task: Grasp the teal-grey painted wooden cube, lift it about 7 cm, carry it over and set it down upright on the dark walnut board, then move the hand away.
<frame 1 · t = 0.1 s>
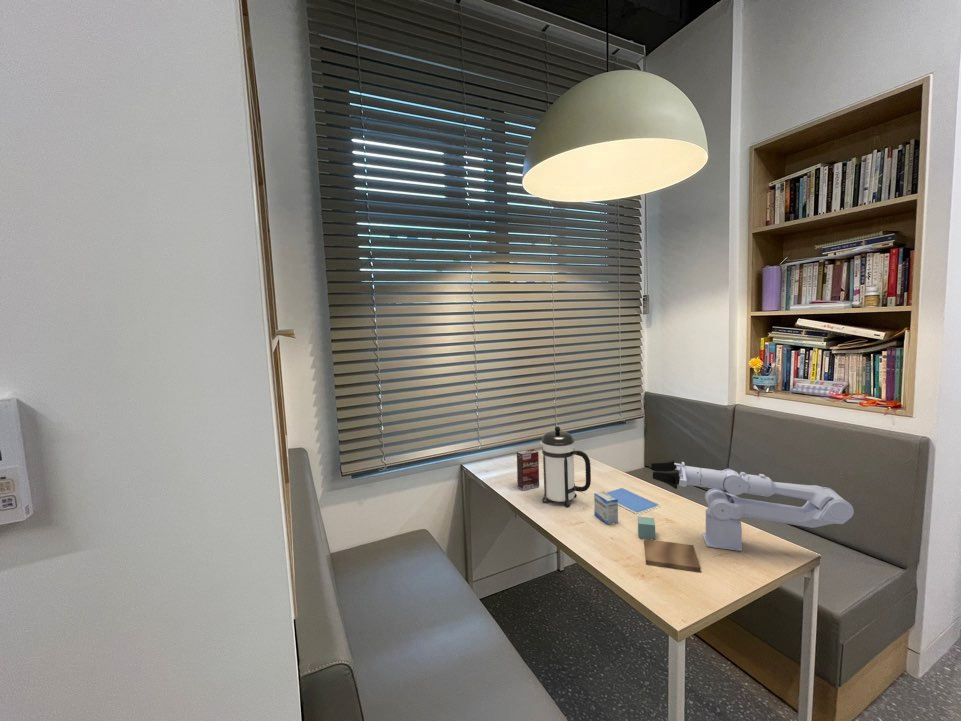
hand: (651, 470, 130), 22 cm above the table, tool horizontal, fingers open, 7 cm apart
walnut board: (670, 556, 119), on the table
medicine box: (606, 519, 144), on the table
coffee press: (562, 500, 161), on the table
supplement box: (528, 487, 174), on the table
tablet computer: (629, 503, 157), on the table
teal cube: (646, 535, 132), on the table
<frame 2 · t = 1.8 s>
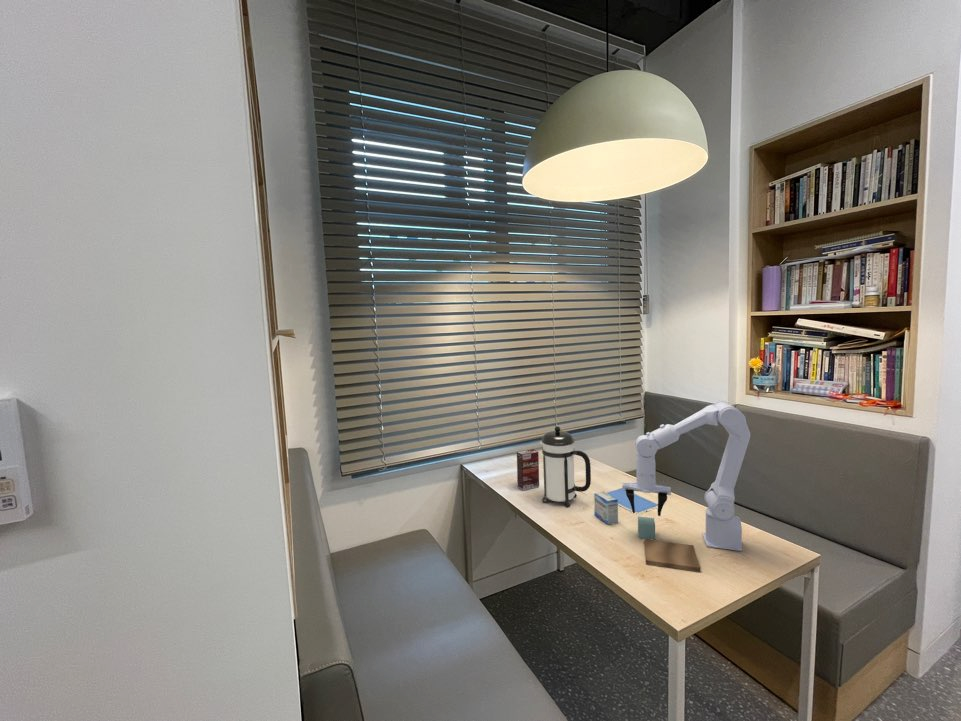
hand: (646, 513, 131), 7 cm above the table, tool pointing down, fingers open, 7 cm apart
nothing on the table moved.
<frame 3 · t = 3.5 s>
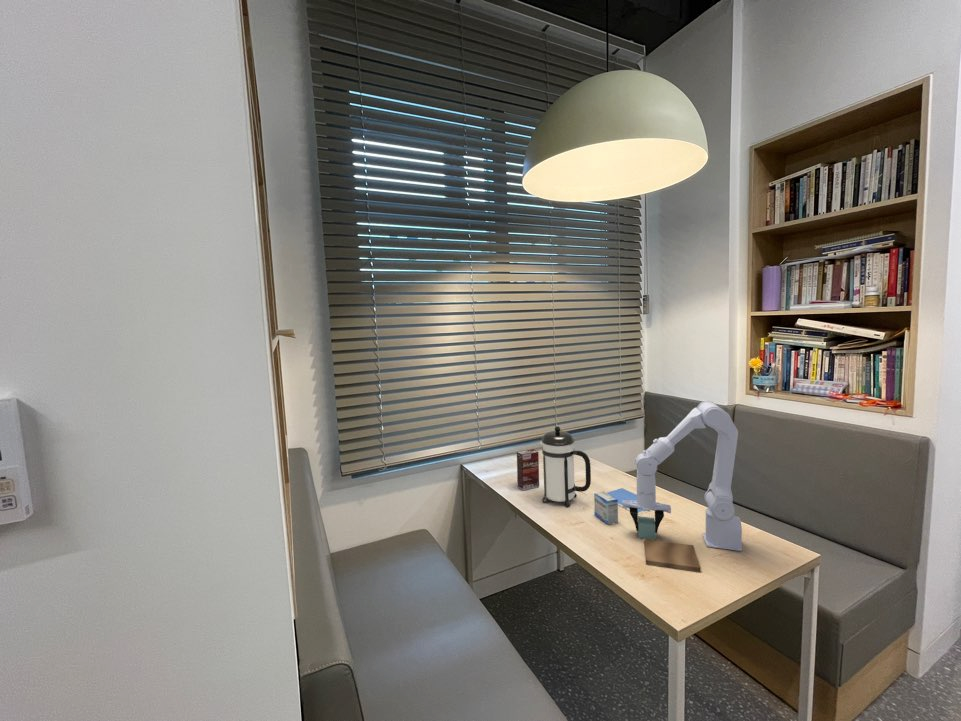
hand: (646, 530, 132), 1 cm above the table, tool pointing down, fingers closed on teal cube, 5 cm apart
teal cube: (646, 535, 132), on the table, touching gripper
everything else where it was.
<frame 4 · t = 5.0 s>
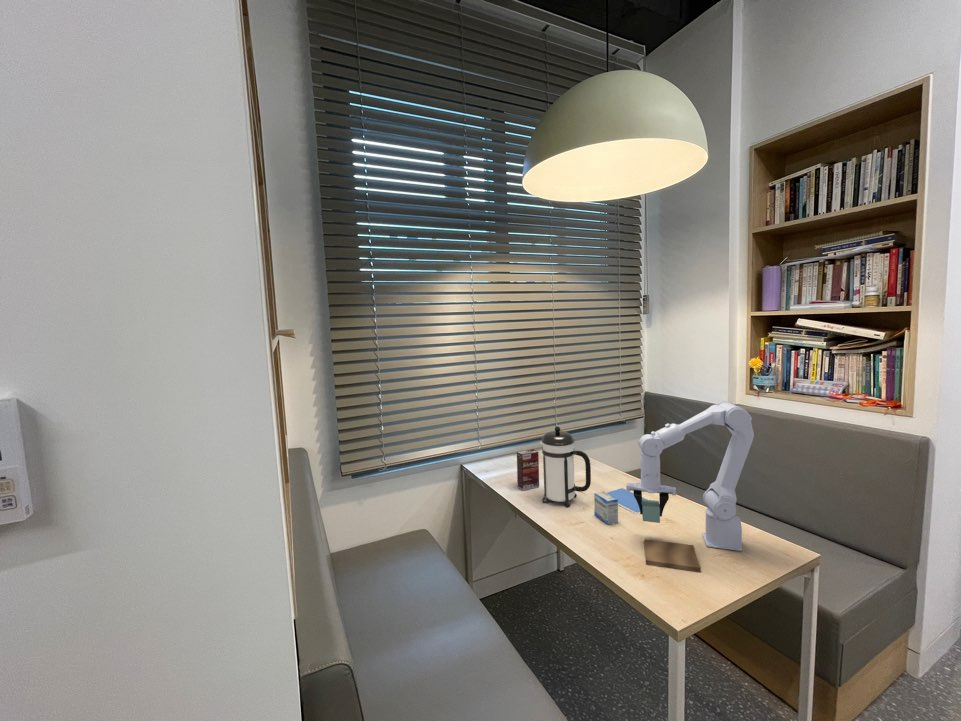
hand: (650, 514, 129), 8 cm above the table, tool pointing down, fingers closed on teal cube, 5 cm apart
teal cube: (650, 518, 129), point 7 cm above the table, touching gripper
everything else where it was.
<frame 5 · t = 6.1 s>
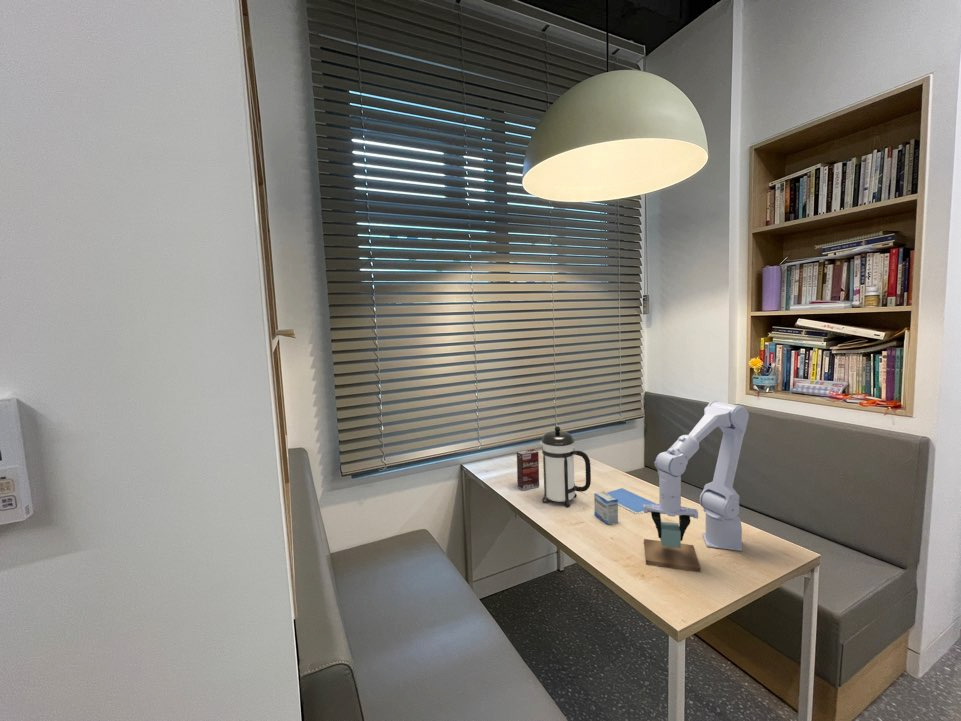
hand: (670, 537, 119), 6 cm above the table, tool pointing down, fingers closed on teal cube, 5 cm apart
teal cube: (670, 542, 119), point 4 cm above the table, touching gripper
everything else where it was.
when the fingers open (4 cm above the table, at t = 6.9 s): teal cube drops 1 cm, resting on walnut board.
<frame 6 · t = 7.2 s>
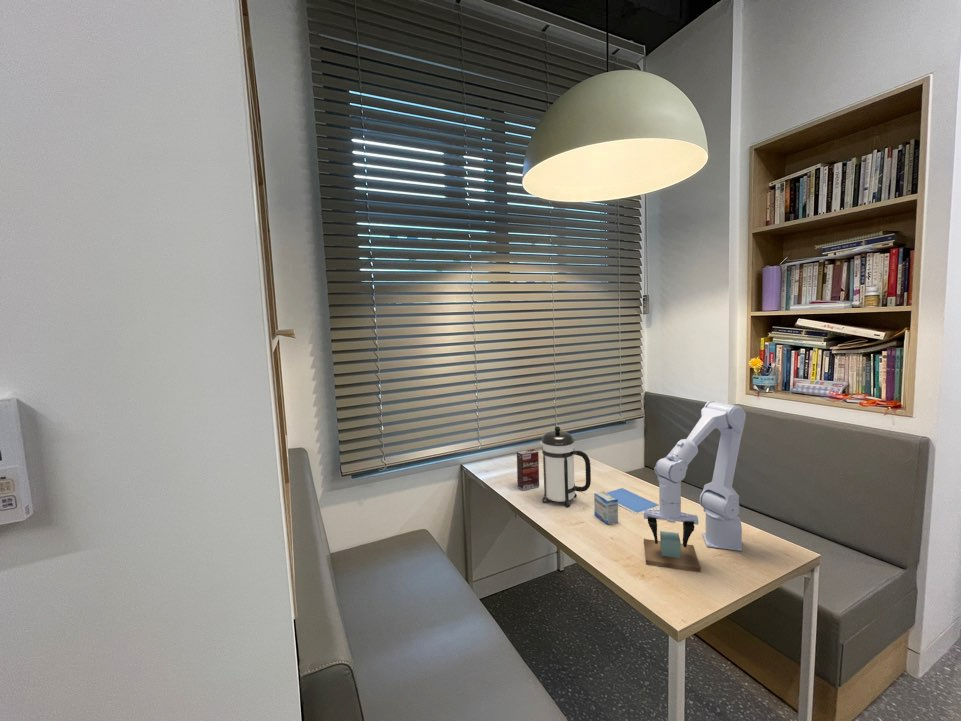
hand: (670, 543, 119), 4 cm above the table, tool pointing down, fingers open, 7 cm apart
teal cube: (670, 552, 119), point 1 cm above the table, touching walnut board
everything else where it was.
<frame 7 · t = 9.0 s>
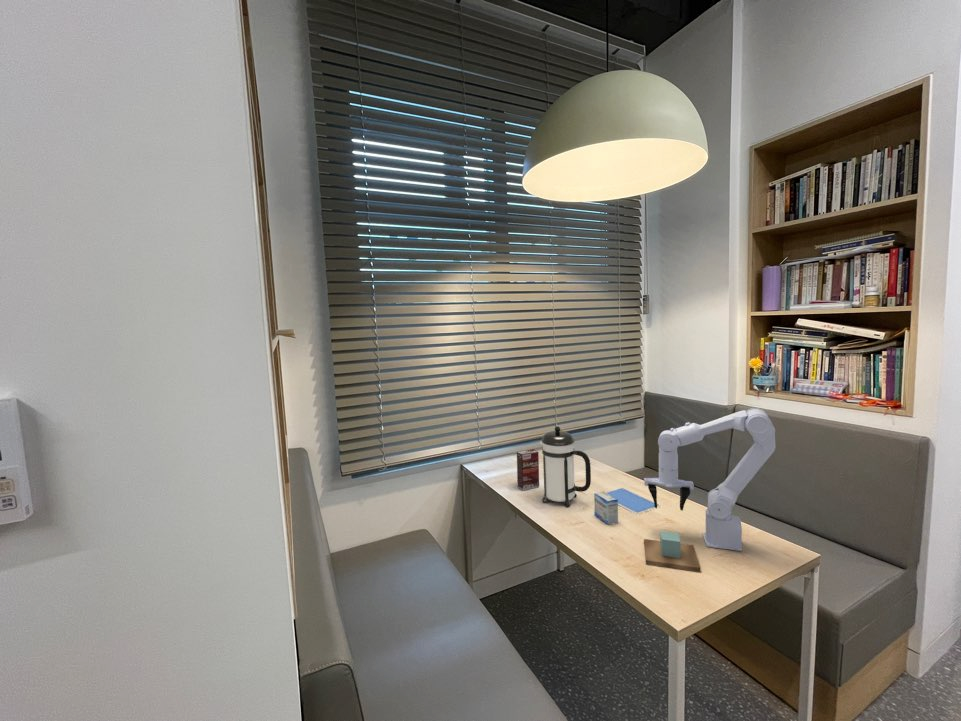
hand: (668, 507, 132), 8 cm above the table, tool pointing down, fingers open, 7 cm apart
nothing on the table moved.
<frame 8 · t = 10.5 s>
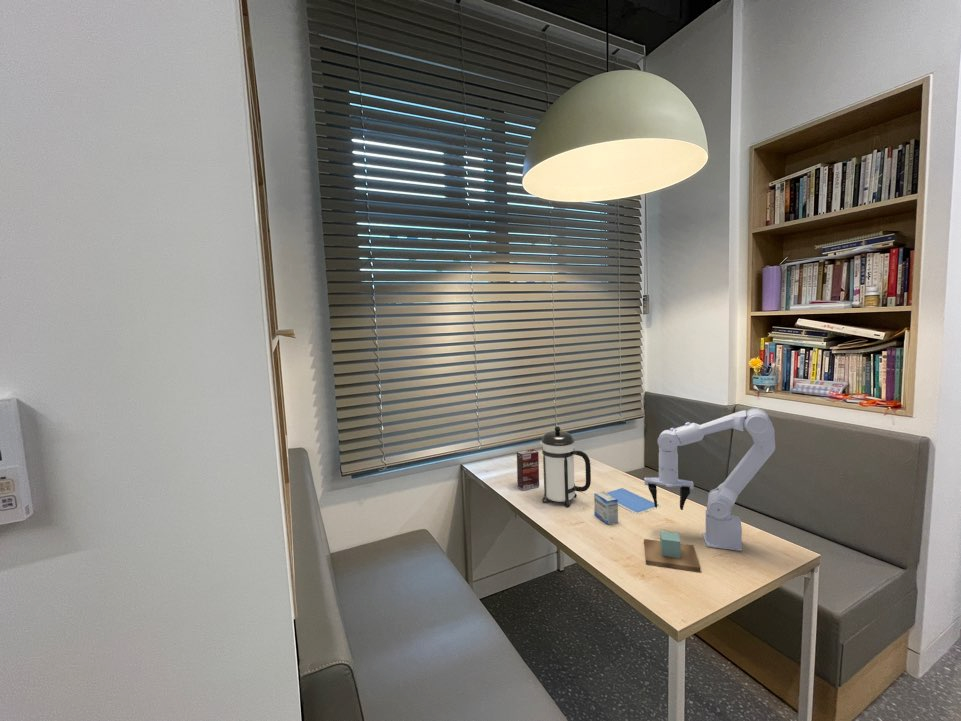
hand: (668, 507, 132), 8 cm above the table, tool pointing down, fingers open, 7 cm apart
nothing on the table moved.
at the end: teal cube inside the target area on the walnut board (0.1 cm from its centre), point 1.2 cm above the walnut board's base; teal cube tilted 0°; the gripper is holding nothing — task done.
